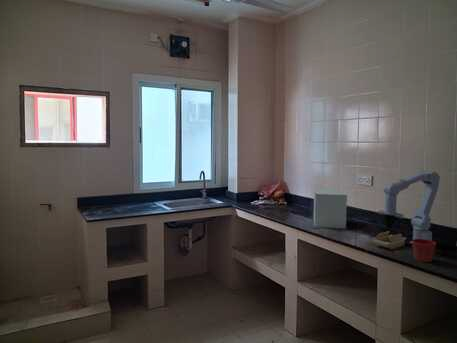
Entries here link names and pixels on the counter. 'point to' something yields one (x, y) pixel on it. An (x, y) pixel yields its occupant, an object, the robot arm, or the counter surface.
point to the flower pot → (423, 249)
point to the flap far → (382, 234)
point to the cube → (330, 208)
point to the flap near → (396, 238)
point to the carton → (388, 242)
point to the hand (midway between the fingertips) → (389, 227)
